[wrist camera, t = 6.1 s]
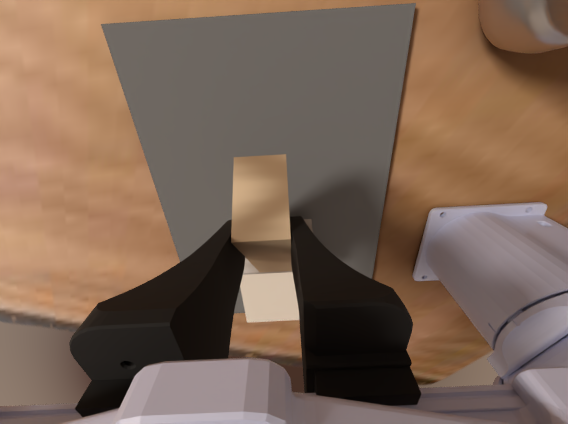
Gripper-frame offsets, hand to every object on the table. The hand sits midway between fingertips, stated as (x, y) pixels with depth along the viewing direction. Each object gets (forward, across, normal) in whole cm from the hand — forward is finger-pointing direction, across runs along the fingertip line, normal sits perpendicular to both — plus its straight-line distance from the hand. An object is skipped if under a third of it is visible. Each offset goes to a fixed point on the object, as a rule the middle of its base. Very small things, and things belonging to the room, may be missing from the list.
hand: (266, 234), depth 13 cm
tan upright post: (+4, 0, 0) cm, 4 cm away
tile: (+7, 0, +6) cm, 9 cm away
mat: (+8, 0, +2) cm, 8 cm away
